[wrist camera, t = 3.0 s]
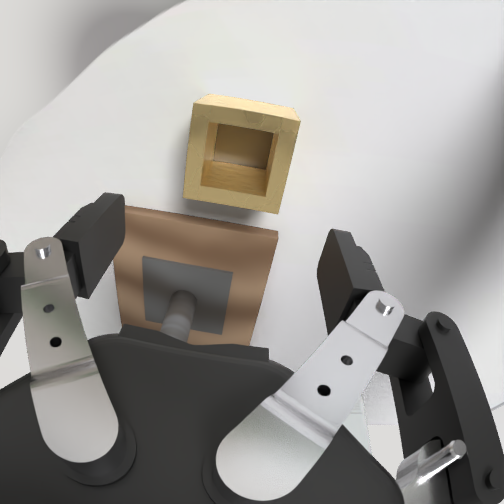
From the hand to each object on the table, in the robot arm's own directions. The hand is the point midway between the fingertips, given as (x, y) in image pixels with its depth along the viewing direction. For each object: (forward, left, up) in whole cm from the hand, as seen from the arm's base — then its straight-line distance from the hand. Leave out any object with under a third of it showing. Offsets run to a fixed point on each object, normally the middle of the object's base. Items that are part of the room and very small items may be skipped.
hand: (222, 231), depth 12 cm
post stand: (+15, -3, -12) cm, 19 cm away
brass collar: (0, 0, -12) cm, 12 cm away
